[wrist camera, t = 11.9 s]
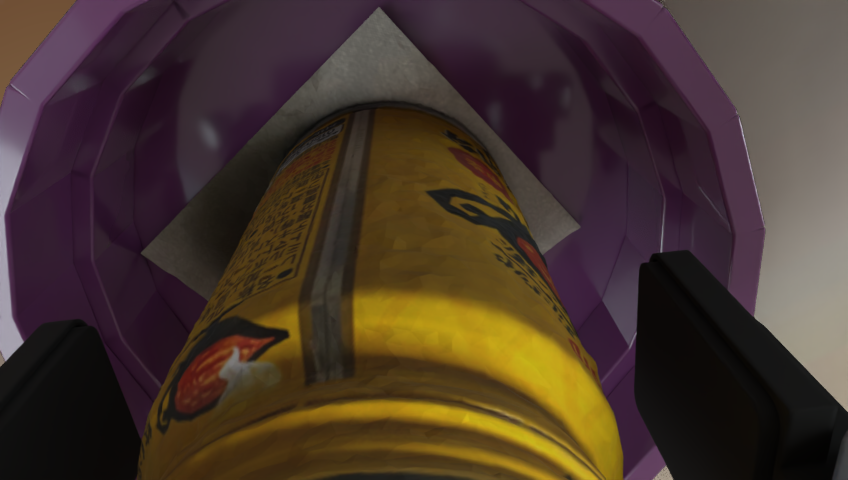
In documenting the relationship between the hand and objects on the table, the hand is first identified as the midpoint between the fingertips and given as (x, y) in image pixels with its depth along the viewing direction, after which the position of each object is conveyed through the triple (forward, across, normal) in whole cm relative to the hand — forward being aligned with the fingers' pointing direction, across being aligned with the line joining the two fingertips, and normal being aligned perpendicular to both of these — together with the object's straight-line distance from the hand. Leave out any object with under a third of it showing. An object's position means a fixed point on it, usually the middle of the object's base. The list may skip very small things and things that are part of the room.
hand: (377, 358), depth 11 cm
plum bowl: (+6, 0, 0) cm, 6 cm away
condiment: (+6, +1, 0) cm, 6 cm away
